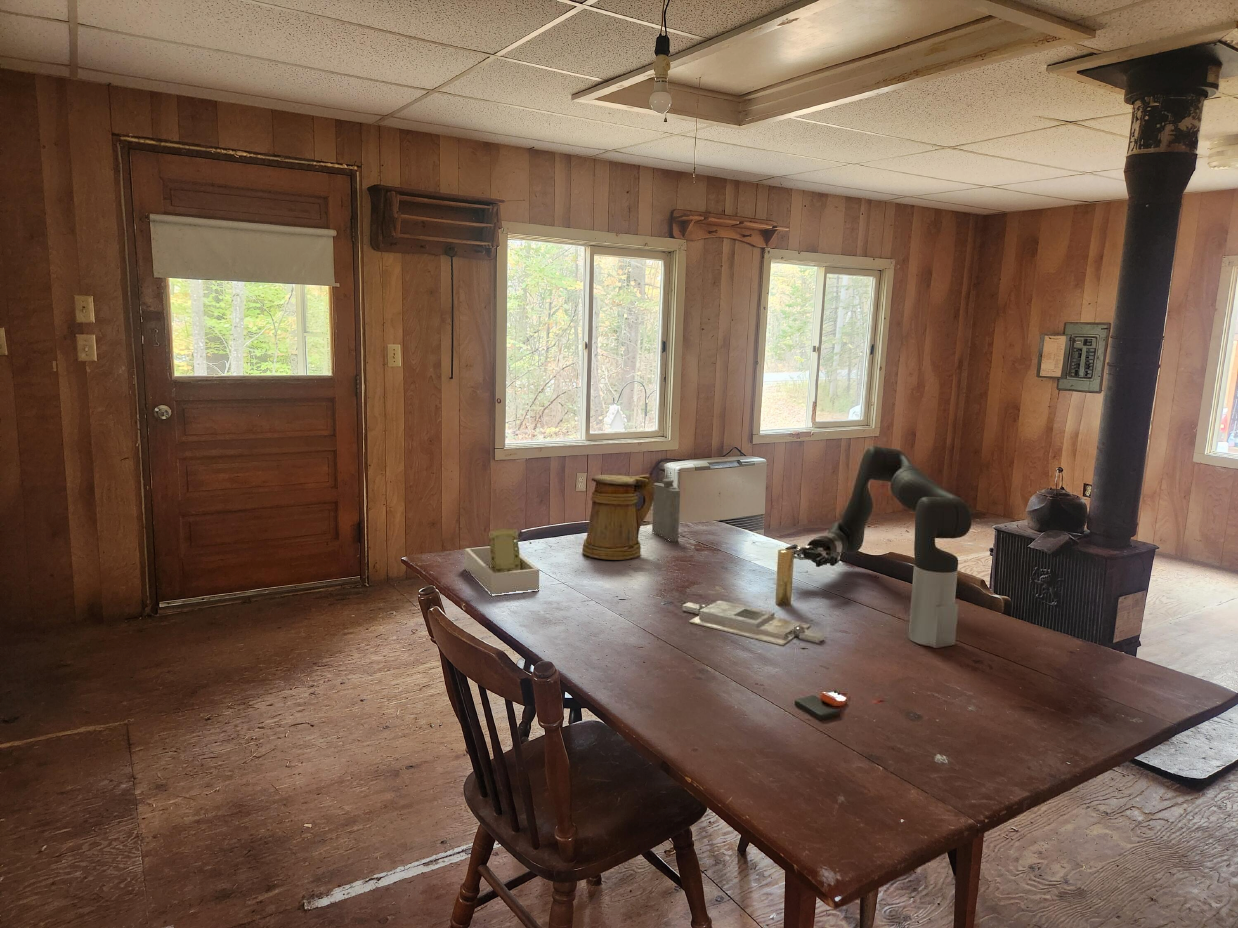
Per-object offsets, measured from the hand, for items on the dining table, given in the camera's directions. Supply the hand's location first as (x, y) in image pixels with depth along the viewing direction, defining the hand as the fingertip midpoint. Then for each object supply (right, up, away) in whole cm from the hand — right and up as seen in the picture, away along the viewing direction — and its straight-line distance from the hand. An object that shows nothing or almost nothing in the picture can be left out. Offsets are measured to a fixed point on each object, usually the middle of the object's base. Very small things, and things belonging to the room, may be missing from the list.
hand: (802, 560), depth 217 cm
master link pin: (-7, -10, -8) cm, 15 cm away
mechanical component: (-80, -6, +7) cm, 81 cm away
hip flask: (-33, +1, +63) cm, 71 cm away
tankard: (-49, -3, +39) cm, 63 cm away
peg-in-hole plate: (-18, -12, -24) cm, 32 cm away
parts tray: (-82, -6, +8) cm, 83 cm away
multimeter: (-8, -19, -64) cm, 68 cm away
